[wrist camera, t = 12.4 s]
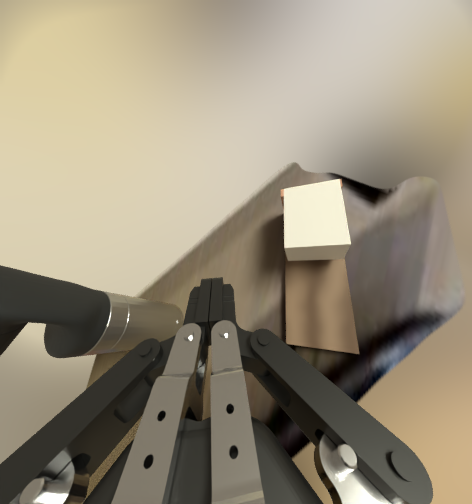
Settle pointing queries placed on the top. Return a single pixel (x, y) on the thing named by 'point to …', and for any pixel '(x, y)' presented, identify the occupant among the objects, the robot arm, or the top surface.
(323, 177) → the top surface
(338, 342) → the walnut track
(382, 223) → the top surface
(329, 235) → the cream white block
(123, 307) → the robot arm
